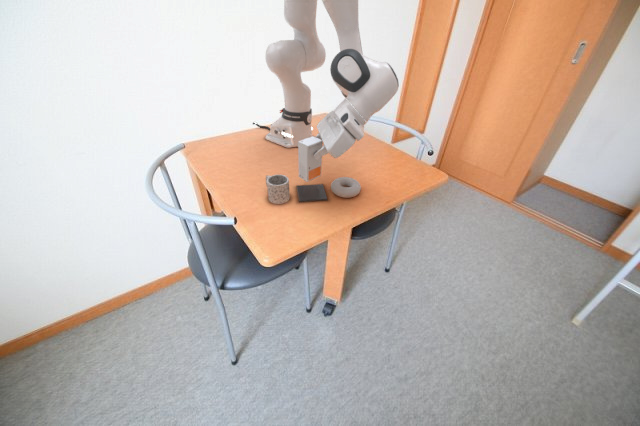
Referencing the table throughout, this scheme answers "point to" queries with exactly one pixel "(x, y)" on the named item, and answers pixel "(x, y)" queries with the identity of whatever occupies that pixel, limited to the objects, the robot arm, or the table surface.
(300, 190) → the slate coaster
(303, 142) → the cosmetic box
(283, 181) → the mug
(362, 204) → the table surface
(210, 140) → the table surface
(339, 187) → the donut
